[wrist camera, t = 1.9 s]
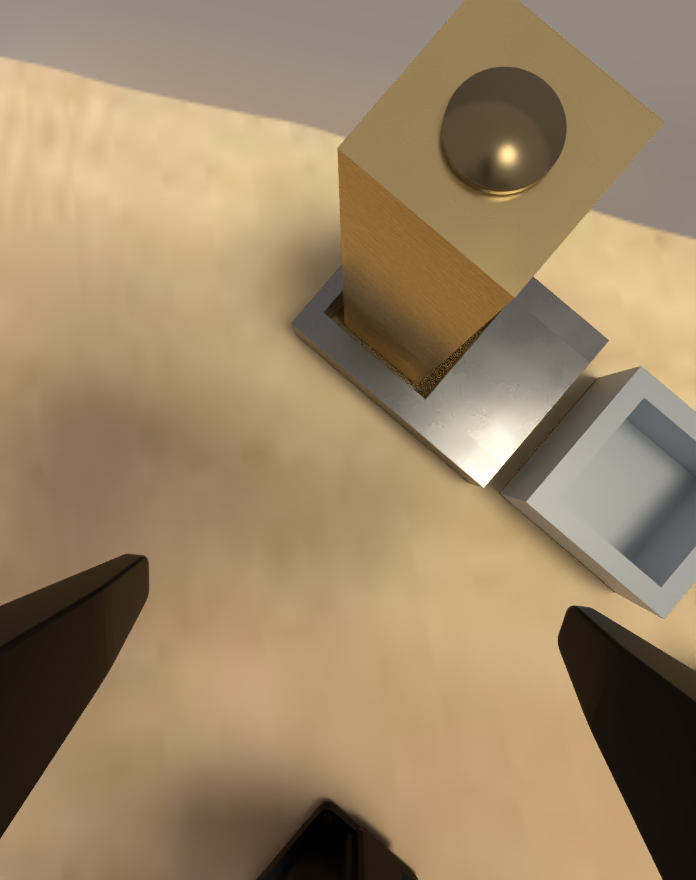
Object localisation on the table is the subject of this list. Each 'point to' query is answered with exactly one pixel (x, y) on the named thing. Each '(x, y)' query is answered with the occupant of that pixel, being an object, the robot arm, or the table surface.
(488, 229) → the brass tower with button
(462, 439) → the grey holder tray
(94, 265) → the table surface
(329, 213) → the table surface
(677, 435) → the parts tray
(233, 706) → the table surface
